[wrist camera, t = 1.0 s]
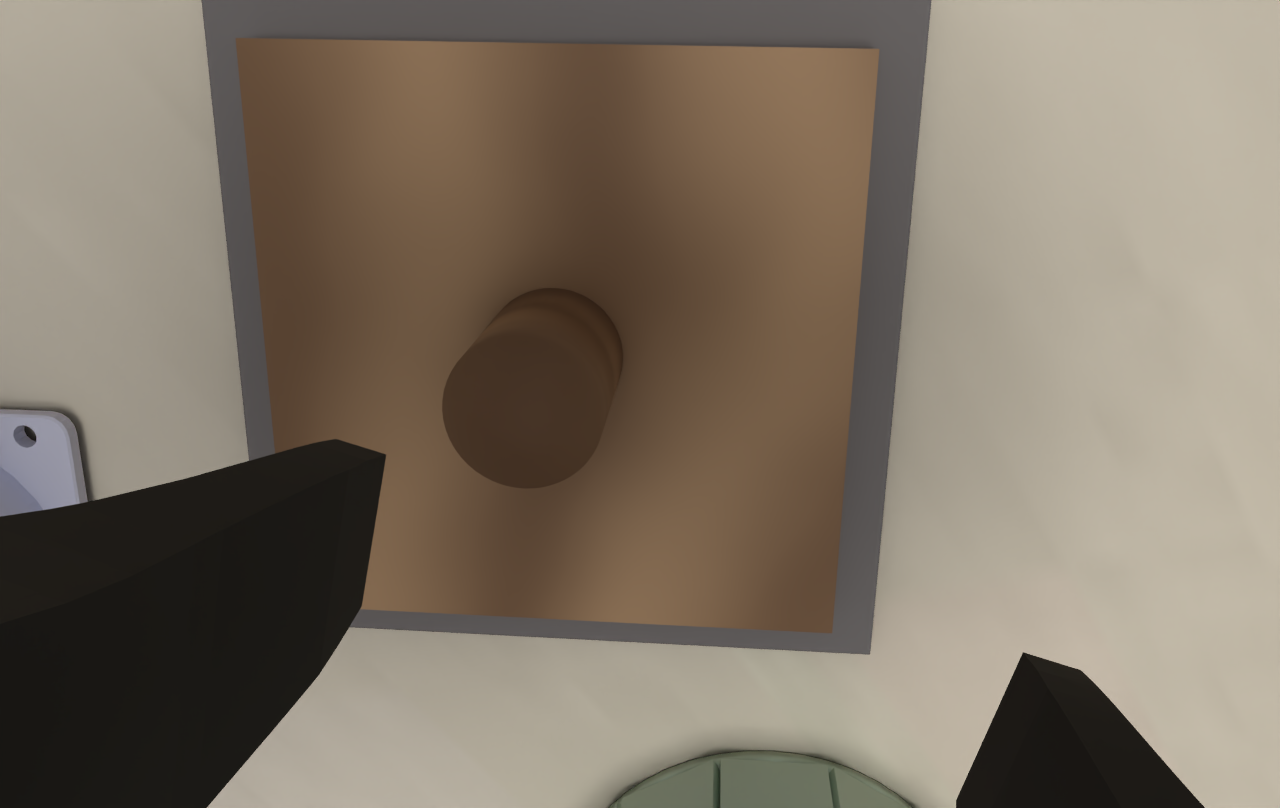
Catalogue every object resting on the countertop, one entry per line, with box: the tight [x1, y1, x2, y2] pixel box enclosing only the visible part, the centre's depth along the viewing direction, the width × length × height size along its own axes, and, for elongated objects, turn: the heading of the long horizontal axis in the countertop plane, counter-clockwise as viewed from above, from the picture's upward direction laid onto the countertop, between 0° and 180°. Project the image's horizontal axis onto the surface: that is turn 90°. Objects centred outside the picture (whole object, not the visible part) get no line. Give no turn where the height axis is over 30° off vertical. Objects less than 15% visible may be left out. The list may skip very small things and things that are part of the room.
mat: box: [202, 0, 931, 654], centre depth 23 cm, size 14×14×1 cm
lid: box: [236, 38, 879, 633], centre depth 21 cm, size 12×12×4 cm
